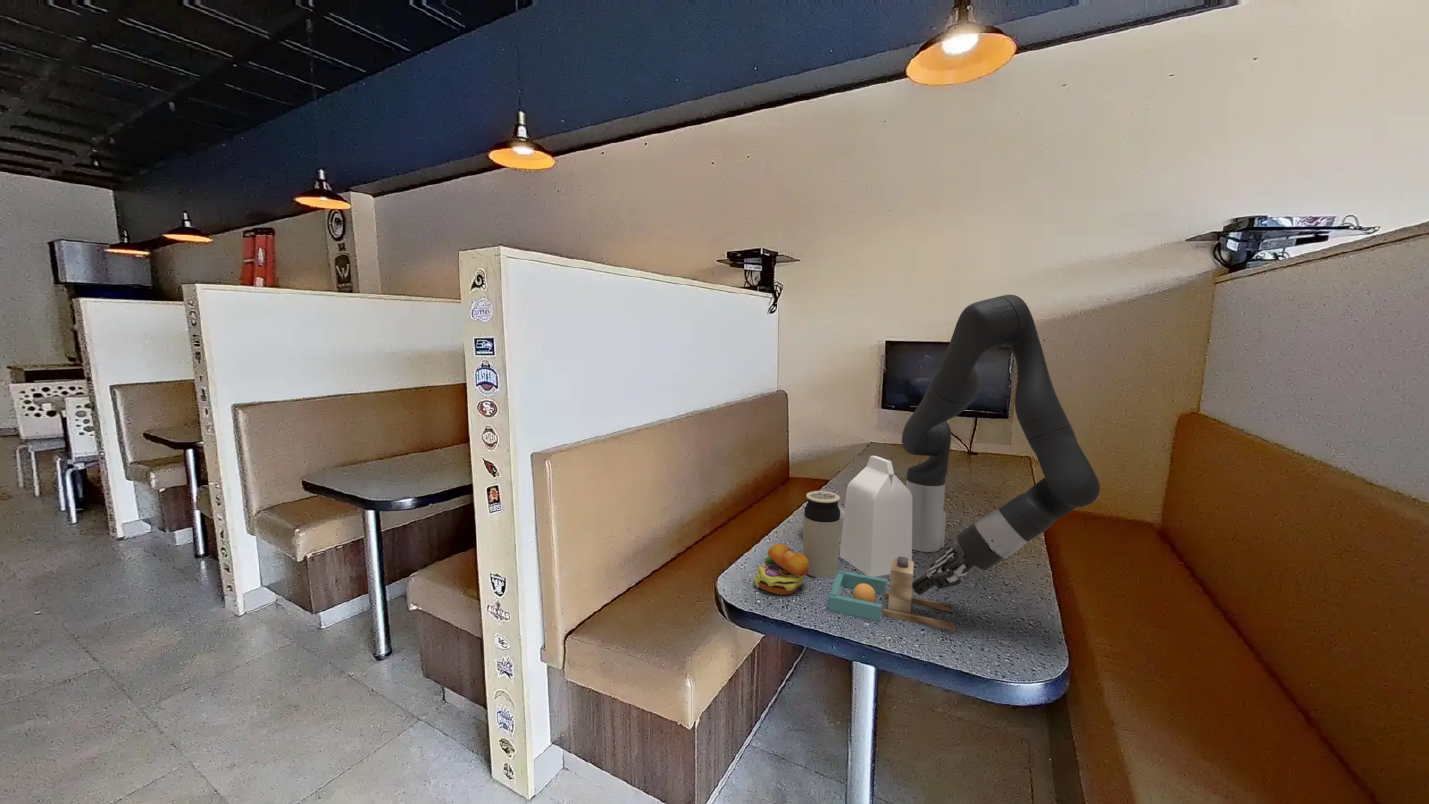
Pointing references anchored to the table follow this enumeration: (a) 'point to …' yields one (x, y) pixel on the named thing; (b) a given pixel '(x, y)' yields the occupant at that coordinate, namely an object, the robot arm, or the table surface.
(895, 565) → the tan rectangular block
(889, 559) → the milk
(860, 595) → the ball
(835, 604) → the teal u-shaped frame
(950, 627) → the channel
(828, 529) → the travel mug
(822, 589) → the table surface
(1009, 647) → the table surface
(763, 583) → the cheeseburger
